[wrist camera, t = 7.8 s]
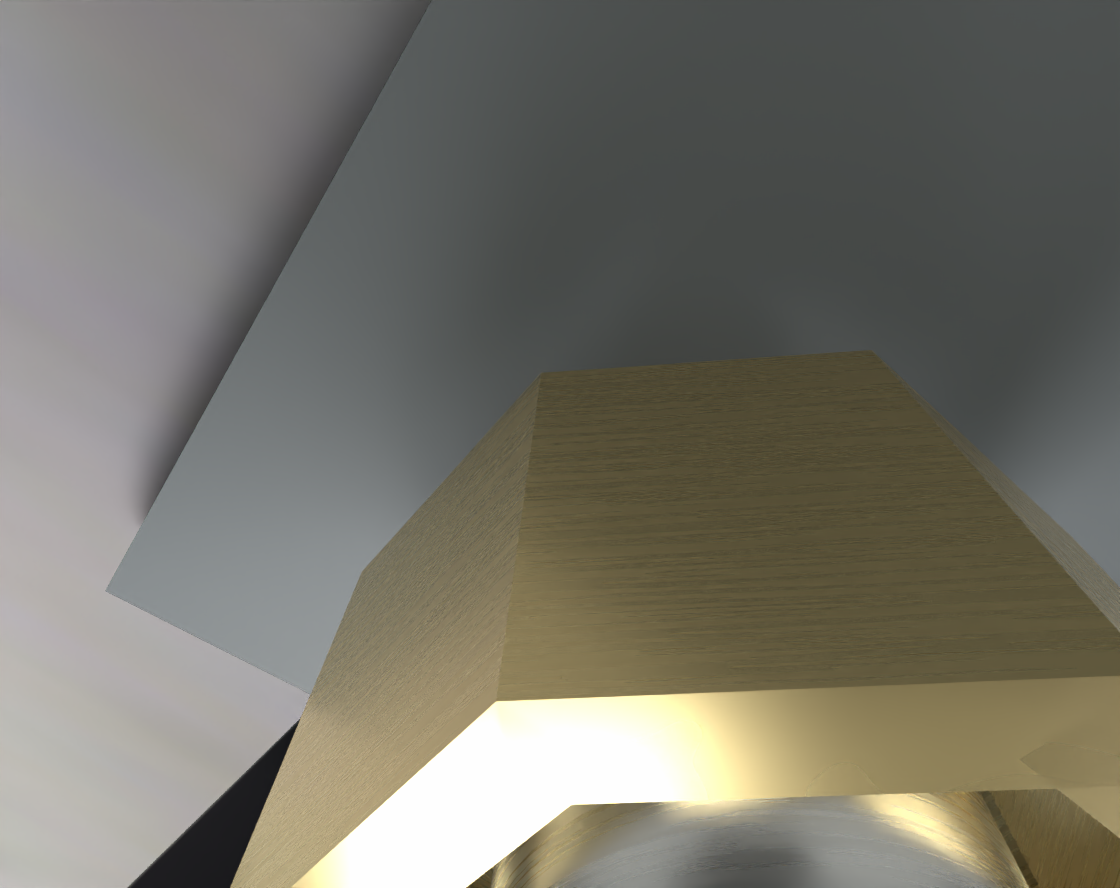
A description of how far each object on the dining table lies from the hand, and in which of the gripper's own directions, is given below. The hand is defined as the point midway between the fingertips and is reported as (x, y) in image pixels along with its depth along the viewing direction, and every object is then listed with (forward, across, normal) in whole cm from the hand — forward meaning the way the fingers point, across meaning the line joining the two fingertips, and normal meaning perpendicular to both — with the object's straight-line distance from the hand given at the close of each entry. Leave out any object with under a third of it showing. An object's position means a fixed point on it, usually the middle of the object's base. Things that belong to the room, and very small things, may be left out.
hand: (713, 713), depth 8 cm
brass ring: (+1, 0, 0) cm, 1 cm away
